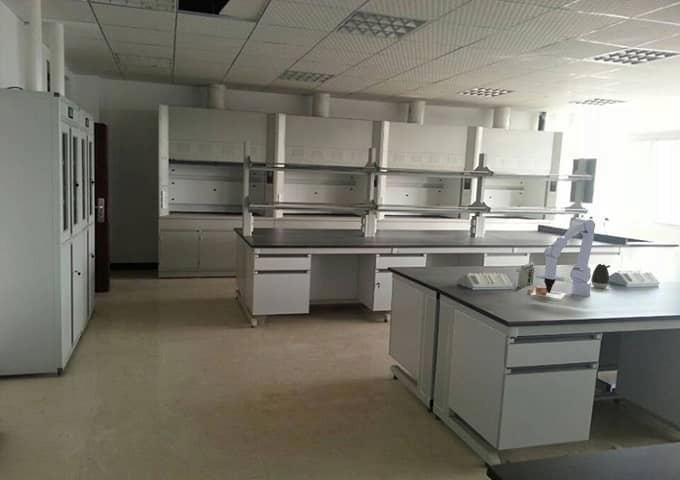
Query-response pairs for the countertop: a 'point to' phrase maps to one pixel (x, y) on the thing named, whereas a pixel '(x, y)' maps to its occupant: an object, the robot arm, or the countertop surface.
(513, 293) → the countertop surface
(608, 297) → the countertop surface
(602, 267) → the potted cactus
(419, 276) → the countertop surface
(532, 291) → the trap board
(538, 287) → the block
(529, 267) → the geiger counter
